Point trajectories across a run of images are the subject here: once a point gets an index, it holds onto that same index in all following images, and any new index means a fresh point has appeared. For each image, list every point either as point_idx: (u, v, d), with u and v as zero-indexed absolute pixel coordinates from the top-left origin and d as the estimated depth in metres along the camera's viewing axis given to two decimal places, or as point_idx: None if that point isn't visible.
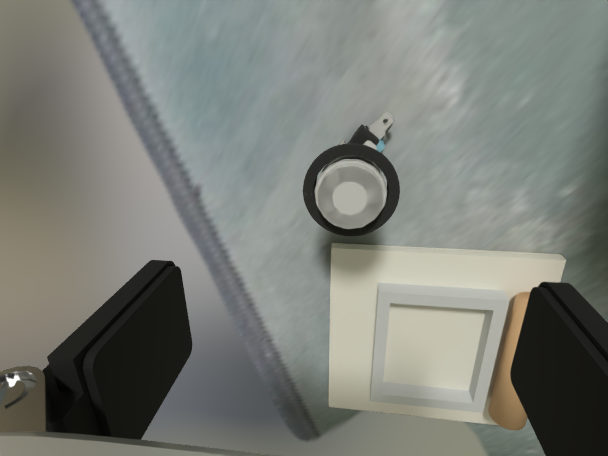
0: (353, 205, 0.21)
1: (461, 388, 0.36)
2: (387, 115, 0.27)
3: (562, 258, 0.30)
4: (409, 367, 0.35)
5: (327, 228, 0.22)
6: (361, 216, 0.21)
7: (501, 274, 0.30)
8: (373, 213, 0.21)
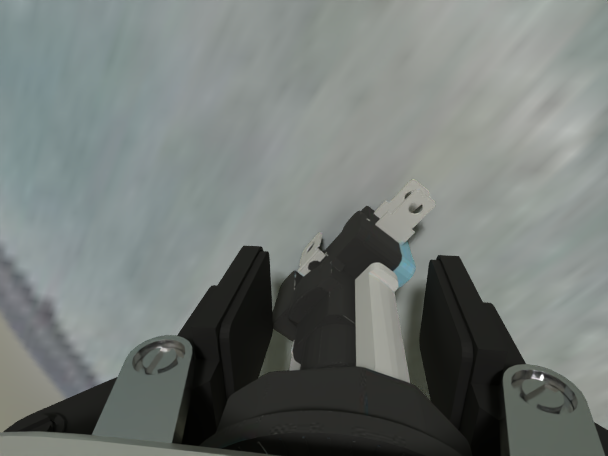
0: None
1: None
2: (419, 194, 0.11)
3: None
4: None
5: None
6: None
7: None
8: None
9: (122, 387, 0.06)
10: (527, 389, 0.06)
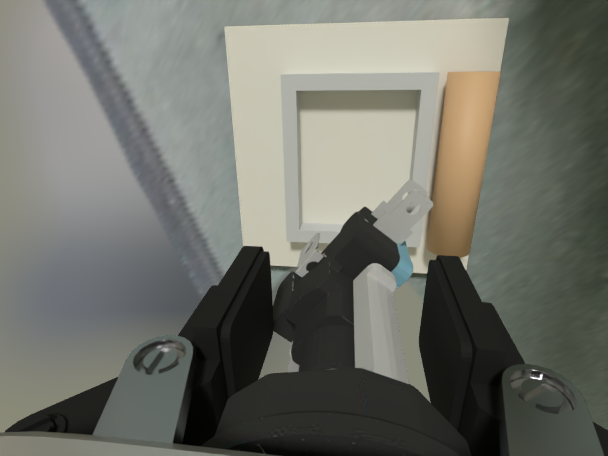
0: None
1: None
2: (417, 194, 0.11)
3: (505, 18, 0.24)
4: (332, 198, 0.29)
5: None
6: None
7: (431, 47, 0.24)
8: None
9: (123, 387, 0.06)
10: (526, 389, 0.06)
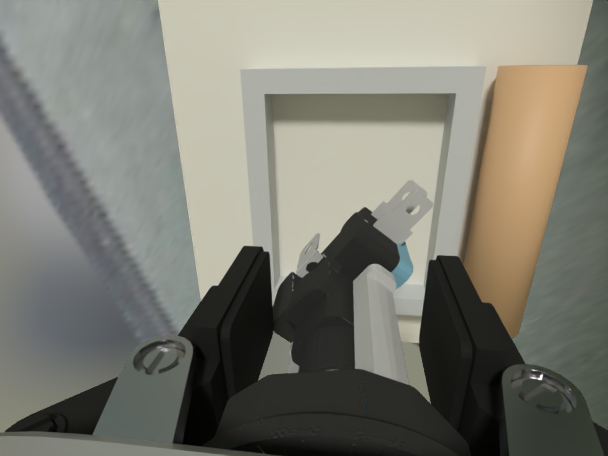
0: None
1: (411, 281, 0.21)
2: (417, 195, 0.11)
3: None
4: (322, 245, 0.21)
5: None
6: None
7: (471, 27, 0.16)
8: None
9: (123, 387, 0.06)
10: (526, 389, 0.06)
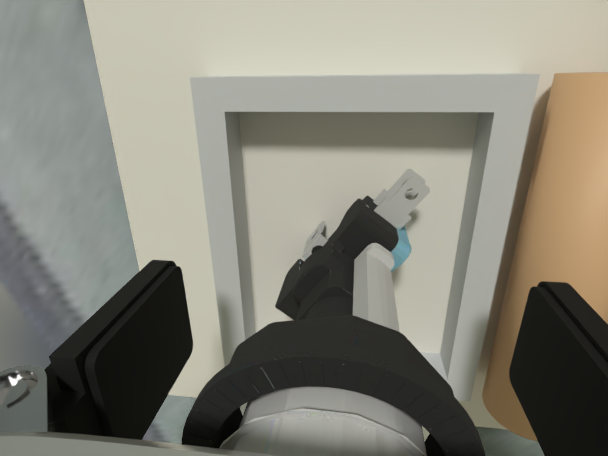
0: None
1: (423, 349, 0.16)
2: (415, 181, 0.12)
3: None
4: None
5: None
6: None
7: (515, 19, 0.11)
8: None
9: None
10: None
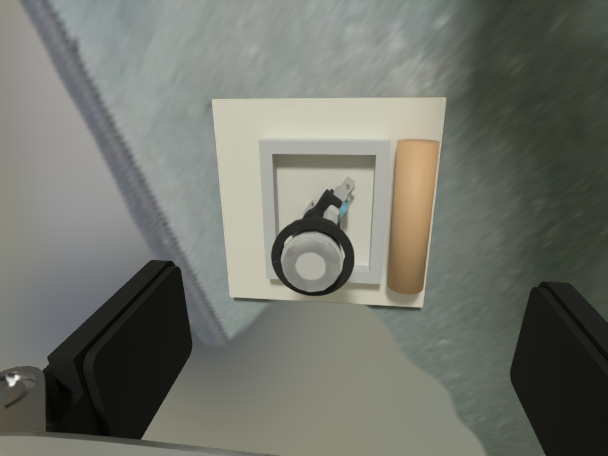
0: (314, 272, 0.24)
1: (361, 263, 0.34)
2: (348, 181, 0.30)
3: (443, 97, 0.29)
4: None
5: (294, 290, 0.25)
6: (321, 281, 0.24)
7: (384, 119, 0.29)
8: (331, 278, 0.24)
9: None
10: None
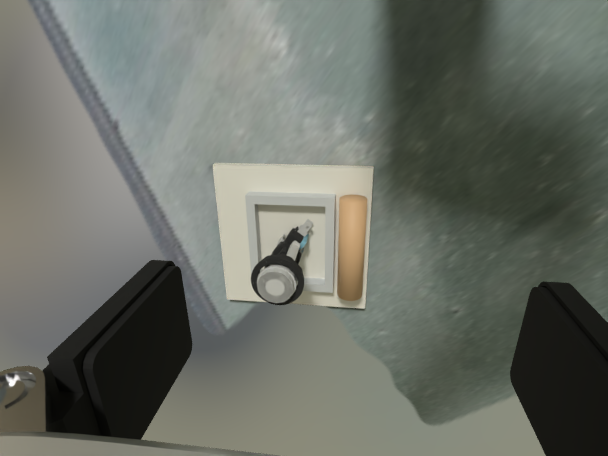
0: (277, 291, 0.37)
1: (320, 277, 0.47)
2: (307, 223, 0.43)
3: (372, 167, 0.41)
4: None
5: (266, 300, 0.39)
6: (282, 296, 0.37)
7: (332, 181, 0.42)
8: (288, 295, 0.37)
9: None
10: None
